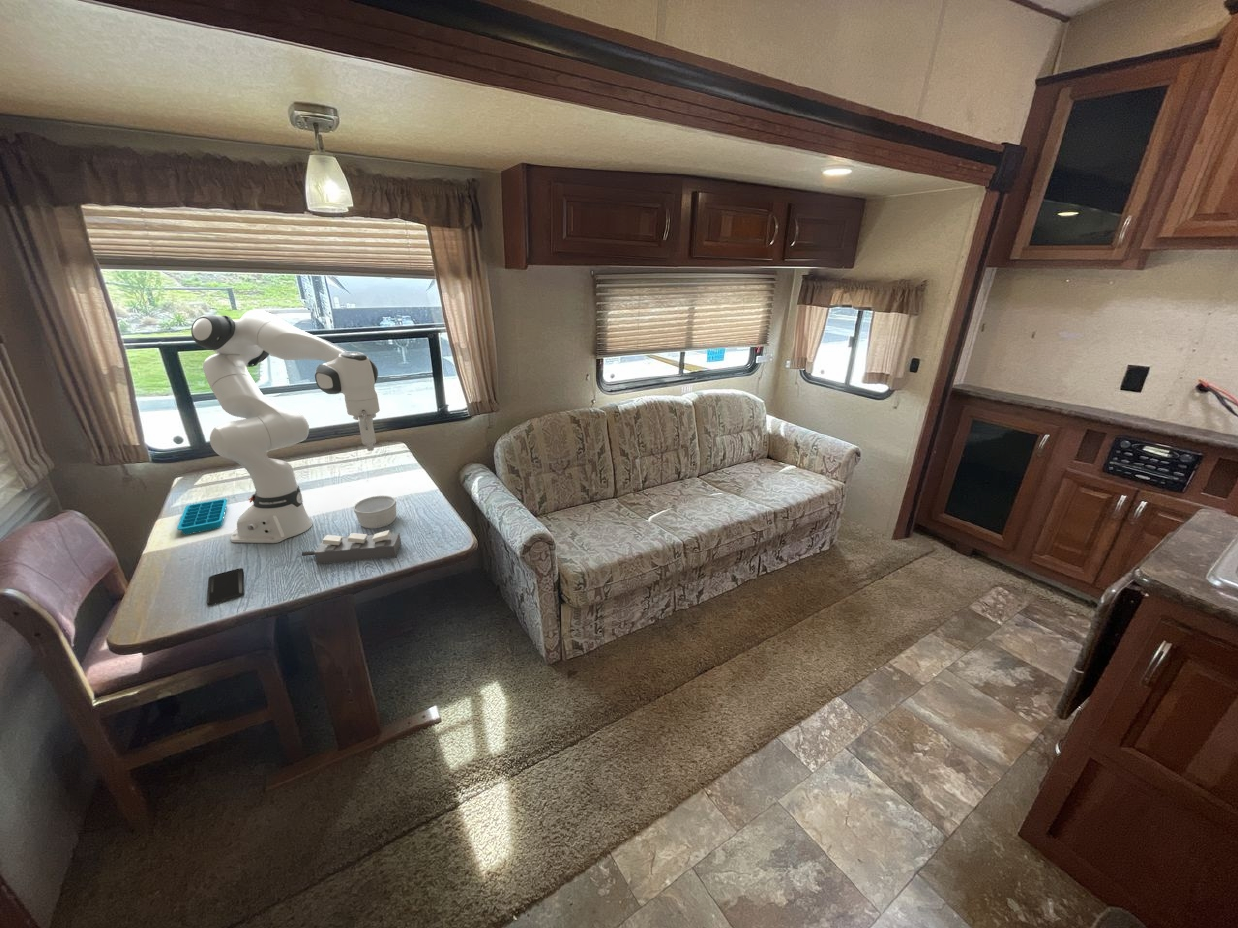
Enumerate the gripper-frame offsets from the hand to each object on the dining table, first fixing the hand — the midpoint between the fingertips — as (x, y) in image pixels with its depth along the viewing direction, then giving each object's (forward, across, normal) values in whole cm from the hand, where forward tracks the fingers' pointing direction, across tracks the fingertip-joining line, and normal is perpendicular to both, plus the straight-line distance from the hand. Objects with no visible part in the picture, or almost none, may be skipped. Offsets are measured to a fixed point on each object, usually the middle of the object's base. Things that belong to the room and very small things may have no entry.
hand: (370, 449), depth 152 cm
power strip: (+29, -11, +10) cm, 33 cm away
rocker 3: (+24, -14, +1) cm, 28 cm away
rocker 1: (+24, -10, +15) cm, 30 cm away
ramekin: (+29, +8, +2) cm, 30 cm away
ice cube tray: (+30, +34, +54) cm, 71 cm away
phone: (+30, -15, +41) cm, 53 cm away
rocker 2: (+24, -12, +8) cm, 28 cm away
